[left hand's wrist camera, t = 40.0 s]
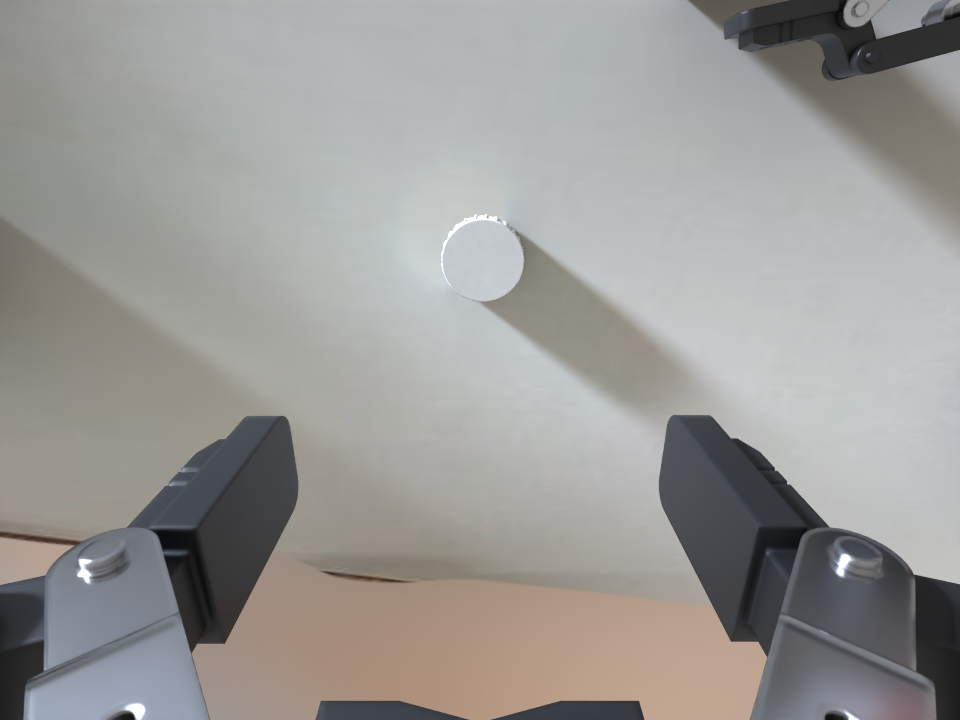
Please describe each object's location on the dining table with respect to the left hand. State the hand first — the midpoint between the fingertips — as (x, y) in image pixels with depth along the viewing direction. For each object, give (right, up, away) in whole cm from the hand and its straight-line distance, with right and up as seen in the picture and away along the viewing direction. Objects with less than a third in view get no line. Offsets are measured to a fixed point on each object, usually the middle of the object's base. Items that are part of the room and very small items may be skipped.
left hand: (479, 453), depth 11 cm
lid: (0, +8, +19) cm, 21 cm away
